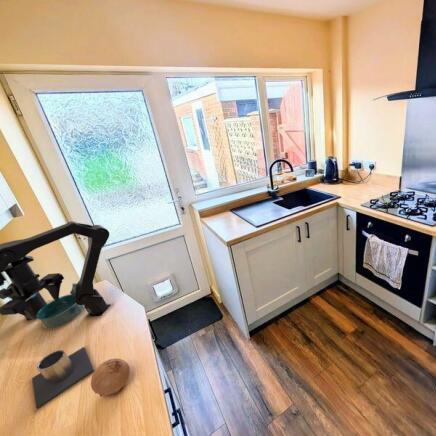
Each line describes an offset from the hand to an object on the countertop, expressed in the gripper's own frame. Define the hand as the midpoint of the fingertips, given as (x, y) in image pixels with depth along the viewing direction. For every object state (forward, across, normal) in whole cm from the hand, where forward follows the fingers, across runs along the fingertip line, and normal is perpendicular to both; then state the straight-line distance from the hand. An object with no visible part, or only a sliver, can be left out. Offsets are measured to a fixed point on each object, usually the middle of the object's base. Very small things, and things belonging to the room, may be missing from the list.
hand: (46, 309), depth 92 cm
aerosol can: (+12, -11, -21) cm, 27 cm away
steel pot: (+11, +18, +17) cm, 27 cm away
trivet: (+12, +18, +17) cm, 27 cm away
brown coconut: (+12, +22, +38) cm, 46 cm away
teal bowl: (+12, -9, -7) cm, 17 cm away
